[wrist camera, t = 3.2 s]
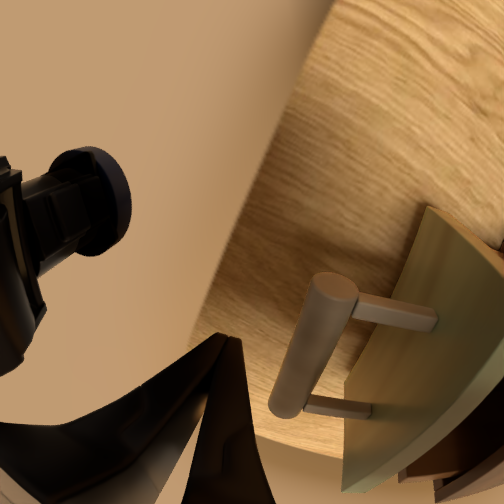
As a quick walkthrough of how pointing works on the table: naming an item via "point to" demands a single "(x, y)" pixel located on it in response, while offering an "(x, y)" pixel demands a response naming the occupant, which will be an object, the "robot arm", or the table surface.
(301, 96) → the table surface
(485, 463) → the cabinet
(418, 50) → the table surface
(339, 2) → the table surface
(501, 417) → the drawer
